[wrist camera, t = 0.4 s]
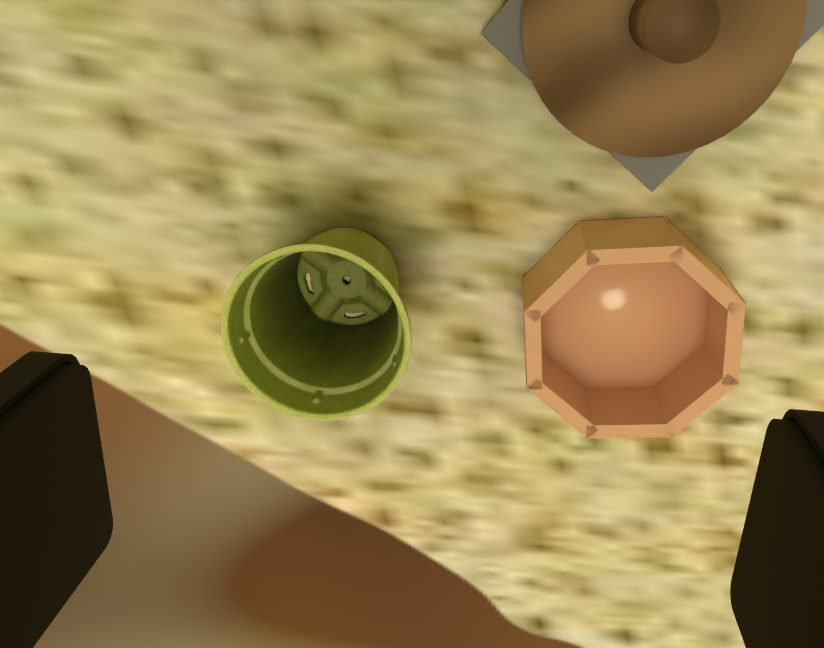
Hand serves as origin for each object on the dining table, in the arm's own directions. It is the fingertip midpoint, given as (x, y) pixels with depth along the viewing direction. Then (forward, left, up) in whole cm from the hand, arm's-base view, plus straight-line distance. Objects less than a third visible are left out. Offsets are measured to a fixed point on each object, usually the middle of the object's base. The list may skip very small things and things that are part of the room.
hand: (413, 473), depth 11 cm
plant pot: (0, -12, -34) cm, 36 cm away
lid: (+4, +9, -32) cm, 34 cm away
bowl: (+14, -3, -33) cm, 36 cm away
